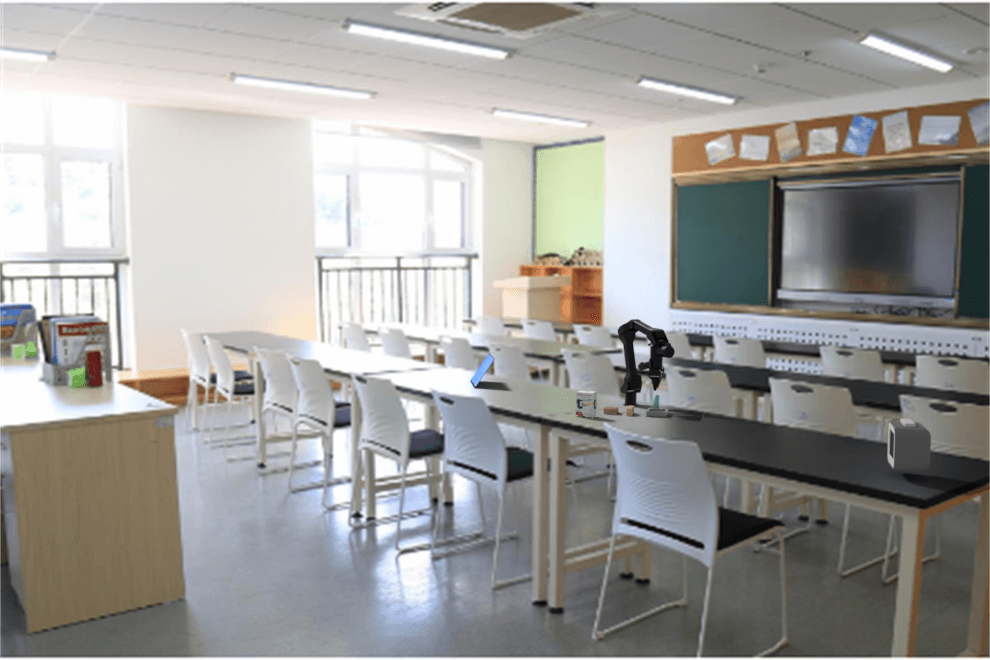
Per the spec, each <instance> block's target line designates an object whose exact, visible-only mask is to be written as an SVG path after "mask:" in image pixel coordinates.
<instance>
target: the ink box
mask: <svg viewBox="0 0 990 660" xmlns="http://www.w3.org/2000/svg"><path fill="white" fill-rule="evenodd" d="M597 396H598V392H597V391H594V390H593V391H592V390H579V391H578V390H577V391H576V392H575V416H576V415H578V416H586V417H595V416H596V417H597V413H598V412H597V408H598V407H597V404H598V402H597V398H598V397H597ZM596 417H595V418H596Z"/></svg>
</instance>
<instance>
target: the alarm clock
mask: <svg viewBox="0 0 990 660" xmlns="http://www.w3.org/2000/svg"><path fill="white" fill-rule="evenodd" d="M887 422H888V423H887V439H886V440H887V442H886V443H887V444H886V445H887V446H886V455H887V456H886V459H887V463H888V464H889V465H890V467H891V469H892V470H905V471H918V472H919V471H926V470H927V469H928V468H929V466H930V464H931V451H932V450H931V447H932V446H931V445H932V443H931V442H932V440H931V439H932V436H931V432H930V431H929V430H928V429H927V428H926V426H924V425H923V424H922V423H921V422H917V421H914V420H912V419H911V418H900V420H889V421H887Z"/></svg>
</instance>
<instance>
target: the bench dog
mask: <svg viewBox="0 0 990 660" xmlns="http://www.w3.org/2000/svg"><path fill="white" fill-rule="evenodd" d="M625 412H626V414H625V416H627V417H632V416H633V415H634V414H635V406H627V407H626V411H625Z"/></svg>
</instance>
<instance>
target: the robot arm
mask: <svg viewBox="0 0 990 660" xmlns="http://www.w3.org/2000/svg"><path fill="white" fill-rule="evenodd" d="M638 332H640V333H641V334H643V335H645V336H646V339H647V340H648V341H649V342H648V343H647V346H648V347H650V348H649V350H650V351H649V354H650V355H649V359H648V361H645V362H644V361H641V362H639V364H638V365H637V362H636V355H635V349H634V348H635V347H634V342H635V340H636V337H637V335H636V334H637V333H638ZM617 334H618V339H619V340H620V342H621V344H622V345H623V346H622V347H623V355H624V364H625V371H626V374H625V376H624V378H623V384H622V385H621V386H620V393H621V394H624V403H623V406H624V407H625V406H627V407H628V406H634V407H638V405H639V404H638V403H637V398H638V397H637V394H640V393H641V391H642V388H643V379H642V375H641V374H639V372H643V371H645V370H647V369H648V371H647V374H646V376H647V377H648V378H649V380H651V384H652V388H653V391H655V392H656V391H657V390H658V389H659V387H660V384H661V382H662V380H663V377H664V375H665V372H666V370H665V369H666V368H665V367H664V365H663V363H664V362H663V361H664V358H666V359H671V358H673V357H674V356H675V348H674V347H673V346H672V343H670V340H669V339H668V337H667V335H666V333H665V330H664V329H662V328H658V327H652V326H651V325H649V324H647V323H645V322H643V321H642V320H641V319H638V318H637V319H634V318H633V319H630V320H629V321H628V322H625V323H624V324H621V325H619V327H618V329H617ZM637 369H638V370H637ZM637 371H639V372H637Z"/></svg>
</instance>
